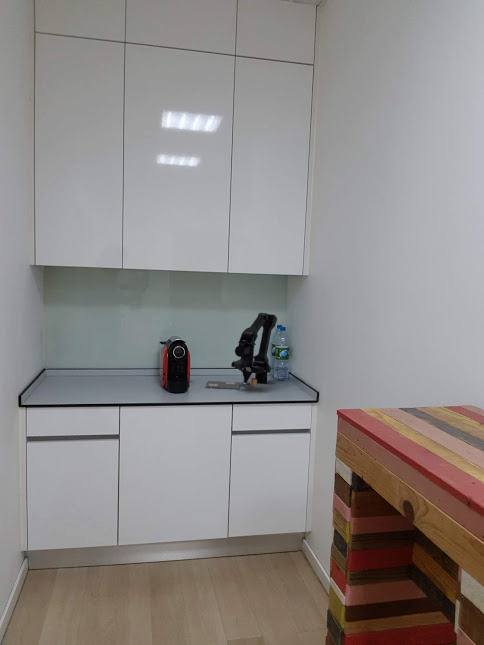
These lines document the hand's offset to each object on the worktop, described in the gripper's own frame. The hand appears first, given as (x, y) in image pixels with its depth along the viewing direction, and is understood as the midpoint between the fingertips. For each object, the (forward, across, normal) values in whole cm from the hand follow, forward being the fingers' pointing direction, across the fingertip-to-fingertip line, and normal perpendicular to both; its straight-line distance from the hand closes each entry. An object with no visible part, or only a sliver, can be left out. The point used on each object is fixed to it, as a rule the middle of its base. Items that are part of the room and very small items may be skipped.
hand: (245, 382), depth 268 cm
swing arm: (+2, -1, +4) cm, 5 cm away
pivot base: (+3, -8, +8) cm, 12 cm away
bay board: (+4, -11, -6) cm, 13 cm away
